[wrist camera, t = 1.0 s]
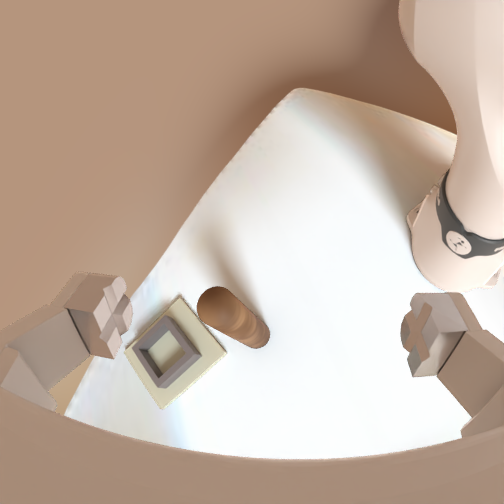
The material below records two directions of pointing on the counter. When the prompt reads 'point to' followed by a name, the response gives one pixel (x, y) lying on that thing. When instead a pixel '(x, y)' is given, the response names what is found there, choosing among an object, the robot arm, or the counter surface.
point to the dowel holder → (173, 353)
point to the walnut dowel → (232, 317)
